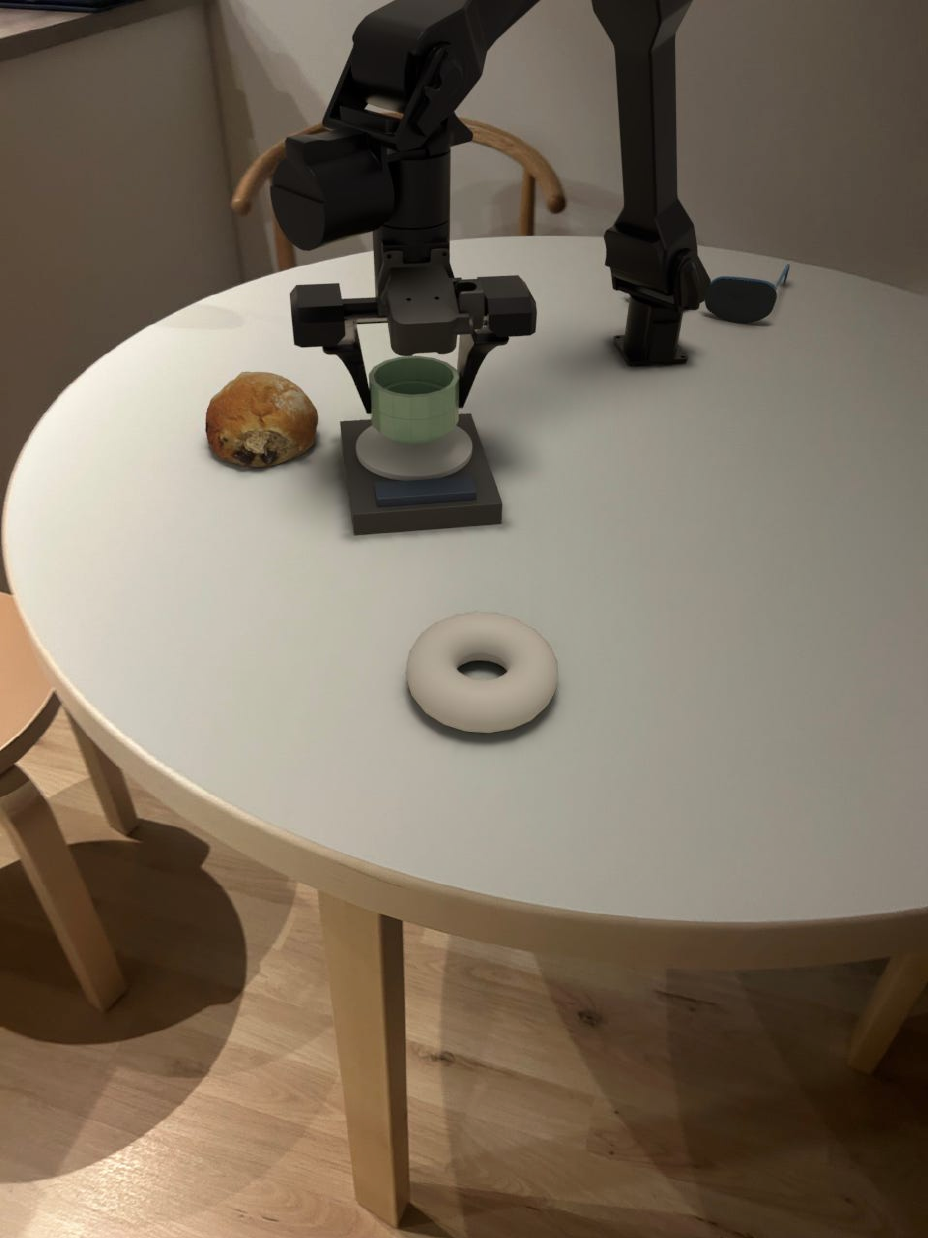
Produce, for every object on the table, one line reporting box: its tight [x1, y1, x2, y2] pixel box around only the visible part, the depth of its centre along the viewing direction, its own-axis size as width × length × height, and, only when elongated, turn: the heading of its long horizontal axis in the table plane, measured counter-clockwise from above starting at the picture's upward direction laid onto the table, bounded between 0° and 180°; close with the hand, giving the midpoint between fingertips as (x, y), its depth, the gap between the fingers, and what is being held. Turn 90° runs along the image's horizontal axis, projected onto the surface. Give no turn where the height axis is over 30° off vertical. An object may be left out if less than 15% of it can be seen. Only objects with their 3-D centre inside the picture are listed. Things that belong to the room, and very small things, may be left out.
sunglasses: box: [628, 263, 791, 324], centre depth 115 cm, size 17×15×5 cm
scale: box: [339, 412, 503, 536], centre depth 82 cm, size 15×12×3 cm
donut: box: [404, 610, 559, 734], centre depth 62 cm, size 10×4×10 cm
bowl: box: [368, 355, 460, 444], centre depth 80 cm, size 7×7×4 cm
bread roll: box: [204, 371, 319, 468], centre depth 86 cm, size 10×10×8 cm
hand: (414, 408), depth 80 cm, fingers closed on bowl, 7 cm apart
